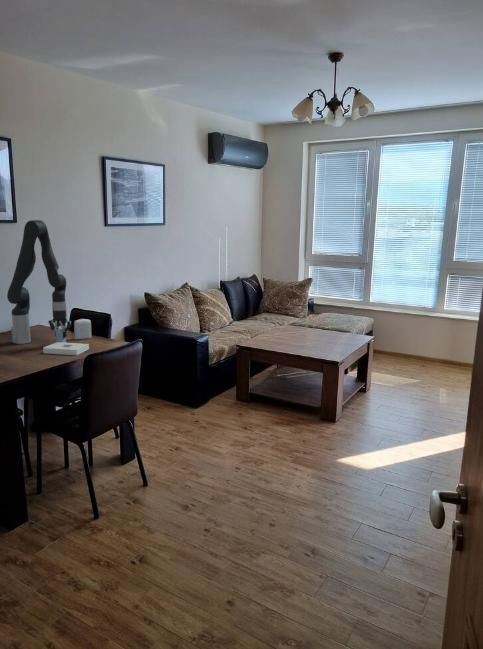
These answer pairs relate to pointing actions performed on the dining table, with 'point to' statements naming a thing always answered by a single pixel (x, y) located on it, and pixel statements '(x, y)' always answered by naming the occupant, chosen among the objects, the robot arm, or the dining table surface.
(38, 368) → the dining table surface
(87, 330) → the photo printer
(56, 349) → the socket
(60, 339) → the peg
